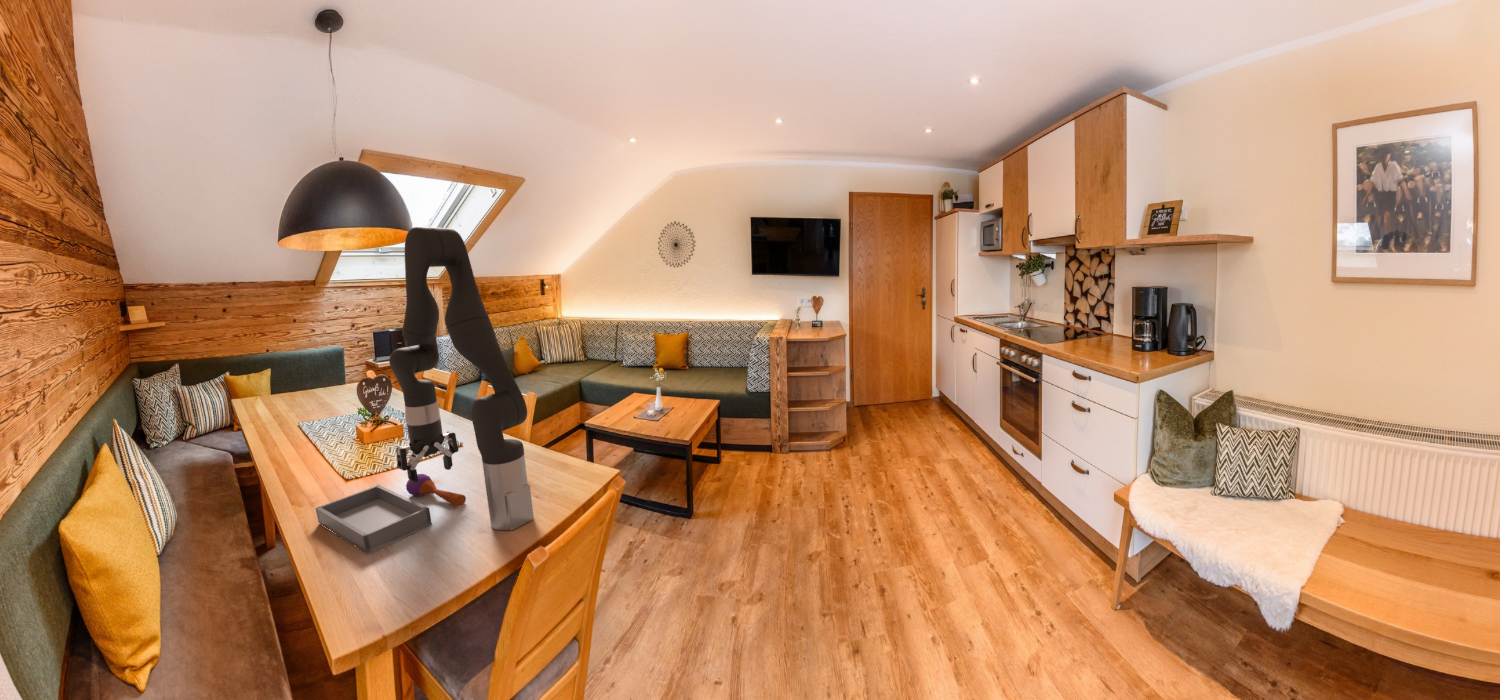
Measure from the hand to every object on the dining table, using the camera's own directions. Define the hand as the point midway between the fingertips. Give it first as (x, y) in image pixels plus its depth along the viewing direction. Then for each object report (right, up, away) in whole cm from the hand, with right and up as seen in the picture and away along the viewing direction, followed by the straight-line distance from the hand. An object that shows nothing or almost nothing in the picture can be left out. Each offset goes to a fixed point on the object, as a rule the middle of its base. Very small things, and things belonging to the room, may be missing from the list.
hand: (431, 475), depth 129 cm
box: (-7, -9, -11) cm, 16 cm away
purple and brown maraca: (+1, -7, +1) cm, 7 cm away
